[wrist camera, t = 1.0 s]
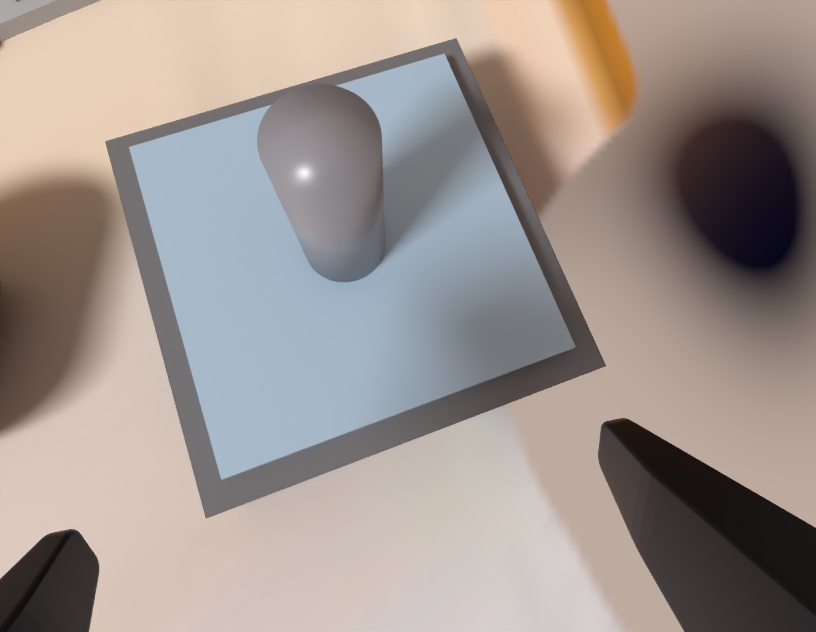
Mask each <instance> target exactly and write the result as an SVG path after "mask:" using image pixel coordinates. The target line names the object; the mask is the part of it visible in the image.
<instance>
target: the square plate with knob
mask: <svg viewBox="0 0 816 632" xmlns="http://www.w3.org/2000/svg"><path fill="white" fill-rule="evenodd" d="M129 149H130V153H131V157H132V160H133V164H134V167H135V171H136V175H137V178H138V182H139V185H140V189H141V193H142V196H143V200H144V203H145V207H146V211H147V214H148V218H149V221H150V225H151V229H152V232H153V236H154V239H155V243H156V247H157V250H158V254H159V257H160V261H161V265H162V268H163V272H164V275H165V279H166V283H167V286H168V290H169V293H170V297H171V301H172V304H173V308H174V311H175V315H176V319H177V322H178V326H179V329H180V333H181V337H182V340H183V344H184V347H185V351H186V355H187V358H188V362H189V366H190V369H191V373H192V376H193V380H194V384H195V387H196V391H197V394H198V398H199V402H200V405H201V409H202V412H203V416H204V420H205V423H206V427H207V430H208V434H209V438H210V441H211V445H212V448H213V452H214V456H215V459H216V463H217V466H218V470H219V474H220V477H221V480H223V479H227V478H230V477H232V476H235V475H238V474H240V473H243V472H246V471H248V470H251V469H254V468H256V467H259V466H262V465H264V464H267V463H270V462H272V461H275V460H278V459H280V458H283V457H286V456H288V455H291V454H294V453H296V452H299V451H302V450H304V449H307V448H310V447H312V446H315V445H318V444H320V443H323V442H326V441H328V440H331V439H334V438H336V437H339V436H342V435H344V434H347V433H350V432H352V431H355V430H358V429H360V428H363V427H366V426H368V425H371V424H374V423H376V422H379V421H382V420H384V419H387V418H390V417H392V416H395V415H398V414H400V413H403V412H406V411H408V410H411V409H414V408H417V407H419V406H422V405H425V404H427V403H430V402H433V401H435V400H438V399H441V398H443V397H446V396H449V395H451V394H454V393H457V392H459V391H462V390H465V389H467V388H470V387H473V386H475V385H478V384H481V383H483V382H486V381H489V380H491V379H494V378H497V377H499V376H502V375H505V374H507V373H510V372H513V371H515V370H518V369H521V368H523V367H526V366H529V365H531V364H534V363H537V362H539V361H542V360H545V359H547V358H550V357H553V356H555V355H558V354H561V353H563V352H566V351H569V350H571V349H573V348H575V347H576V346H575V344H574V342H573V340H572V337H571V335H570V333H569V331H568V328H567V326H566V324H565V322H564V320H563V317H562V315H561V313H560V311H559V308H558V306H557V304H556V302H555V299H554V297H553V295H552V293H551V290H550V288H549V286H548V284H547V282H546V279H545V277H544V275H543V273H542V270H541V268H540V266H539V264H538V261H537V259H536V257H535V255H534V252H533V250H532V248H531V246H530V244H529V241H528V239H527V237H526V235H525V232H524V230H523V228H522V226H521V223H520V221H519V219H518V217H517V214H516V212H515V210H514V208H513V206H512V203H511V201H510V199H509V197H508V194H507V192H506V190H505V188H504V185H503V183H502V181H501V179H500V176H499V174H498V172H497V170H496V168H495V165H494V163H493V161H492V159H491V156H490V154H489V152H488V150H487V147H486V145H485V143H484V141H483V138H482V136H481V134H480V132H479V130H478V127H477V125H476V123H475V121H474V118H473V116H472V114H471V112H470V109H469V107H468V105H467V103H466V100H465V98H464V96H463V94H462V92H461V89H460V87H459V85H458V83H457V80H456V78H455V76H454V74H453V71H452V69H451V67H450V65H449V62H448V60H447V58H446V56H445V54H441V55H437V56H434V57H431V58H427V59H424V60H421V61H417V62H414V63H410V64H407V65H404V66H400V67H397V68H394V69H390V70H387V71H384V72H380V73H377V74H373V75H370V76H367V77H363V78H360V79H357V80H353V81H350V82H346V83H343V84H340V85H336V86H334V85H326V84H315V85H308V86H303V87H300V88H297V89H294V90H292V91H290V92H288V93H286V94H284V95H283V96H281V97H280V98H279V99H277V100H276V101H275V102H274V103H273V104H272V105H269V106H266V107H262V108H259V109H255V110H252V111H249V112H245V113H242V114H239V115H235V116H232V117H228V118H225V119H222V120H218V121H215V122H212V123H208V124H205V125H202V126H198V127H195V128H191V129H188V130H185V131H181V132H178V133H175V134H171V135H168V136H164V137H161V138H158V139H154V140H151V141H148V142H144V143H141V144H137V145H134V146H131V147H129Z"/></svg>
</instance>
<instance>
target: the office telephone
mask: <svg viewBox="0 0 816 632" xmlns="http://www.w3.org/2000/svg"><path fill="white" fill-rule="evenodd" d="M98 1H100V0H0V42H3V41H5V40H7V39H9V38H11V37H13V36H16V35H18V34H20V33H23V32H25V31H27V30H30V29H32V28H34V27H37V26H39V25H42V24H44V23H46V22H49V21H51V20H53V19H56V18H58V17H60V16H63V15H65V14H68V13H70V12H73V11H75V10H78V9H80V8H83V7H85V6H88V5H90V4H93V3H95V2H98Z"/></svg>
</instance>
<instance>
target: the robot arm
mask: <svg viewBox="0 0 816 632" xmlns="http://www.w3.org/2000/svg"><path fill="white" fill-rule="evenodd" d="M598 459H599V464H600V467H601V470H602V472H603V474H604V476H605V479H606V481H607V483H608V485H609V488H610V490H611V492H612V494H613V496H614V499H615V501H616V503H617V505H618V508H619V510H620V512H621V514H622V517H623V519H624V521H625V523H626V526H627V528H628V530H629V533H630V535H631V537H632V539H633V541H634V543H635V545H636V548H637V549H638V551H639V553H640V555H641V557H642V559H643V560H644V562H645V564H646V566H647V567H648V569H649V571H650V573H651V574H652V576H653V578H654V580H655V581H656V583H657V585H658V587H659V588H660V590H661V592H662V594H663V595H664V597H665V599H666V601H667V602H668V604H669V606H670V608H671V609H672V611H673V613H674V614H675V616H676V618H677V619H678V621H679V623H680V625H681V627H682V628H683V630H684V632H816V528H815V527H813V526H812V525H810V524H808V523H806V522H805V521H803V520H801V519H799V518H798V517H796V516H794V515H793V514H791V513H789V512H787V511H786V510H784V509H782V508H780V507H779V506H777V505H775V504H774V503H772V502H770V501H769V500H767V499H765V498H763V497H762V496H760V495H758V494H757V493H755V492H753V491H751V490H750V489H748V488H746V487H744V486H743V485H741V484H739V483H738V482H736V481H734V480H732V479H730V478H729V477H727V476H726V475H724V474H722V473H720V472H719V471H717V470H715V469H714V468H712V467H710V466H708V465H706V464H705V463H703V462H701V461H700V460H698V459H696V458H694V457H693V456H691V455H689V454H688V453H686V452H684V451H682V450H681V449H679V448H677V447H676V446H674V445H672V444H670V443H669V442H667V441H665V440H663V439H662V438H660V437H658V436H657V435H655V434H653V433H652V432H650V431H648V430H646V429H644V428H643V427H641V426H639V425H638V424H636V423H634V422H632V421H631V420H629V419H625V418H622V419H616V420H611V421H606V422H604V423H603V425H602V427H601V433H600V442H599V450H598ZM98 576H99V562H98V559H97V557H96V555H95V554H94V552H93V551H92V550H91V548H90V547H89V545H88V544H87V542H86V541H85V540H84V538H83V537H82V535H81V534H80V533H79V532H78V531H76V530H74V529H69V530H64V531H59V532H54V533H50V534H48V535H46V536H45V537H43V538H42V539H41V540H40V541H39V542H38V543H37V544H36V545H35V546H34V547H33V548H32V549H31V550H30V551H29V552H28V553H27V554H26V555H24V556H23V557H22V558H21V559H20V560H19V561H18V562H17V563H16V564H15V565H14V566H13V567H12V568H11V569H10V570H9V571H8V572H7V573H6V574H5V575H4V576H3V577H2V578H1V579H0V632H89V628H90V623H91V617H92V611H93V605H94V599H95V593H96V588H97V582H98Z"/></svg>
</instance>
